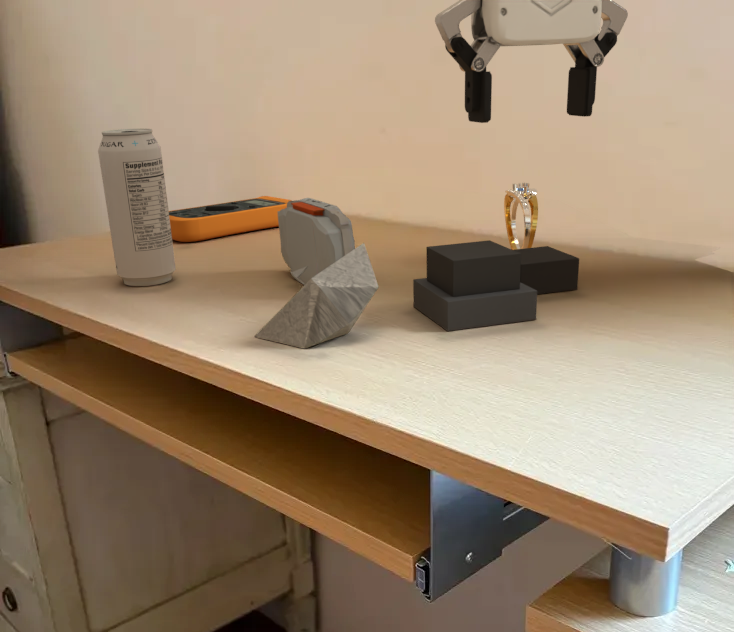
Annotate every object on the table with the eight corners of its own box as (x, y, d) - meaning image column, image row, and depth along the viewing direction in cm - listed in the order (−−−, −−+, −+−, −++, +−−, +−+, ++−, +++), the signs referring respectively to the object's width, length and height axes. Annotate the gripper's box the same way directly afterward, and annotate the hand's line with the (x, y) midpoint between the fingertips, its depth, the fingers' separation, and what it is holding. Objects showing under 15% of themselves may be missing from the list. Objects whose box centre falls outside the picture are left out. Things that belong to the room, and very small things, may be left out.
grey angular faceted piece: (270, 348, 61) (217, 292, 67) (306, 396, 66) (253, 340, 72) (393, 246, 62) (330, 200, 68) (420, 301, 67) (358, 254, 73)
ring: (497, 252, 93) (498, 179, 90) (525, 251, 93) (527, 178, 90) (512, 266, 87) (514, 188, 84) (542, 265, 87) (545, 187, 84)
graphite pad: (546, 275, 83) (547, 245, 82) (577, 289, 77) (579, 257, 76) (491, 282, 81) (492, 251, 80) (519, 296, 76) (520, 264, 75)
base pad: (494, 296, 76) (495, 270, 75) (536, 319, 69) (537, 290, 68) (413, 306, 74) (412, 279, 73) (447, 331, 67) (447, 301, 66)
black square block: (489, 273, 74) (489, 240, 73) (519, 289, 69) (521, 253, 68) (426, 280, 73) (426, 246, 71) (453, 297, 67) (453, 260, 66)
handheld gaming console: (361, 296, 78) (357, 210, 75) (333, 301, 77) (328, 214, 74) (301, 267, 90) (296, 192, 87) (276, 271, 89) (270, 195, 86)
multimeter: (152, 237, 109) (148, 210, 108) (266, 218, 120) (264, 193, 119) (183, 245, 103) (179, 218, 102) (300, 225, 114) (299, 199, 112)
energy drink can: (156, 270, 91) (136, 127, 85) (188, 278, 87) (170, 129, 81) (107, 282, 87) (83, 132, 81) (138, 290, 83) (116, 134, 77)
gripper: (457, -122, 60) (455, 127, 67) (661, -117, 65) (641, 115, 71) (419, -103, 67) (421, 122, 73) (607, -99, 71) (593, 111, 78)
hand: (529, 118), depth 72 cm, fingers open, 9 cm apart
